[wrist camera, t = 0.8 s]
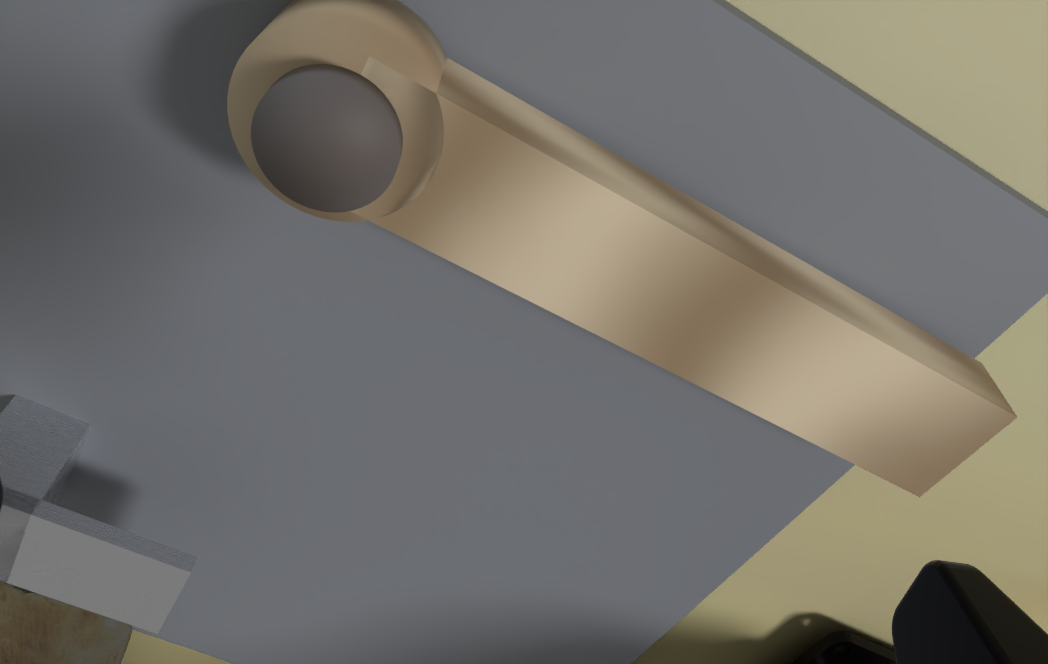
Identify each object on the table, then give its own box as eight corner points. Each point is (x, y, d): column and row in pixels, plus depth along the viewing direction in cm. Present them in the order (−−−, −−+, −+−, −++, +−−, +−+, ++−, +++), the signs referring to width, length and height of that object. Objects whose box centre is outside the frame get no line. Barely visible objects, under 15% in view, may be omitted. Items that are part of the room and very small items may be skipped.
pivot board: (1074, 228, 20) (1095, 250, 20) (523, 735, 34) (522, 760, 33) (-21, -488, 14) (-58, -501, 13) (-170, 495, 27) (-193, 519, 26)
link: (232, 119, 18) (180, 182, 16) (302, -58, 16) (256, -16, 14) (879, 450, 23) (917, 538, 21) (996, 346, 21) (1055, 431, 19)
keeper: (230, 479, 25) (191, 572, 22) (198, 540, 26) (157, 633, 24) (16, 394, 23) (-56, 483, 20) (-6, 464, 25) (-74, 555, 22)
